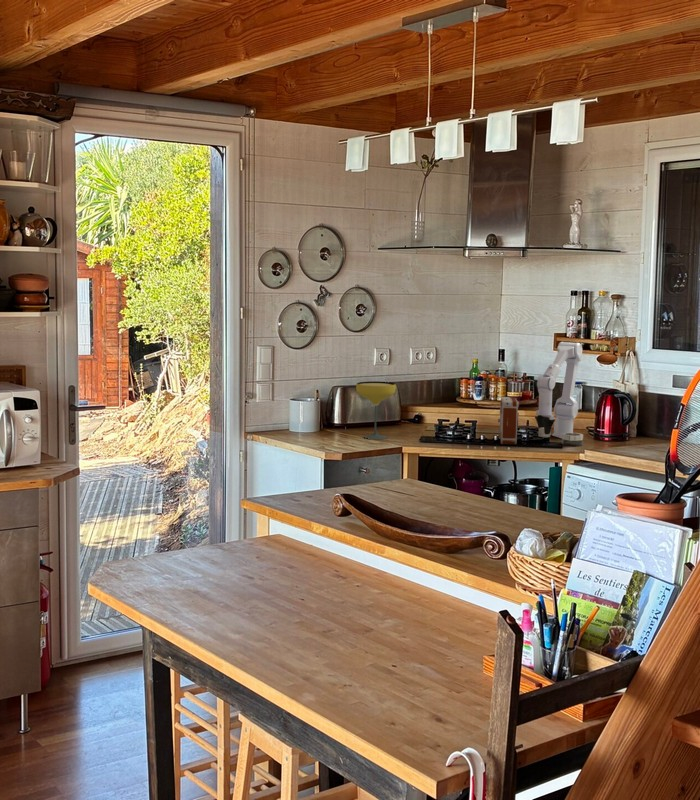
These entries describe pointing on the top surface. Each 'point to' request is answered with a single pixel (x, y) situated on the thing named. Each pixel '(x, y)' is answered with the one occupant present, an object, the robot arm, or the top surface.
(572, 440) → the lens barrel
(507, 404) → the cine camera
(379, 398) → the cocktail glass
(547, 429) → the robot arm
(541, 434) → the lens cap
